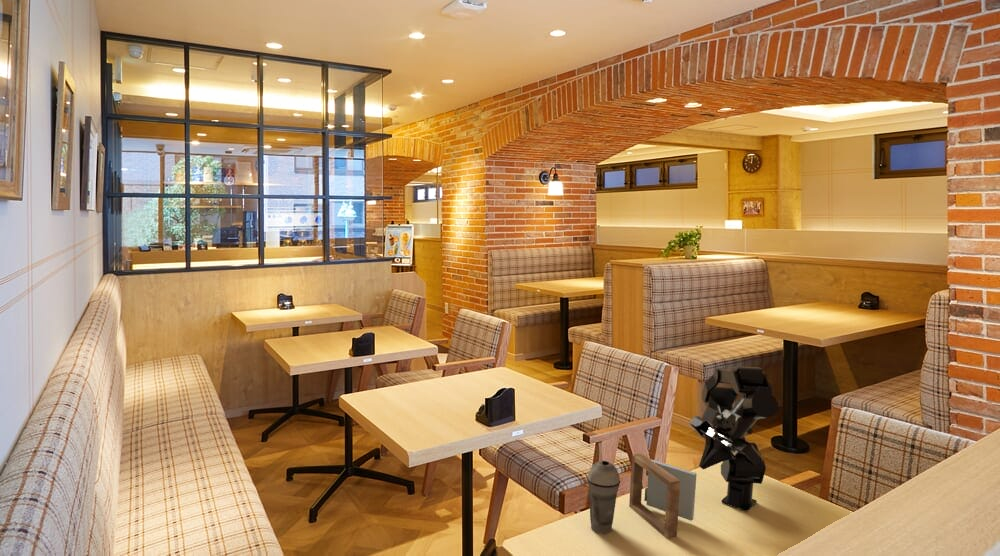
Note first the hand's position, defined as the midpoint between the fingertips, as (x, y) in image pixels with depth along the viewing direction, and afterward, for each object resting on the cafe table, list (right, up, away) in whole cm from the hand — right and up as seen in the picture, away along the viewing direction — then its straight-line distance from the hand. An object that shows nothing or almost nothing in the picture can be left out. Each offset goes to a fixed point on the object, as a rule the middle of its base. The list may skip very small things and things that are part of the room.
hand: (701, 467), depth 141 cm
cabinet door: (-7, -10, +2) cm, 13 cm away
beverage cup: (-24, -12, -5) cm, 27 cm away
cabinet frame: (-12, -12, -1) cm, 17 cm away
